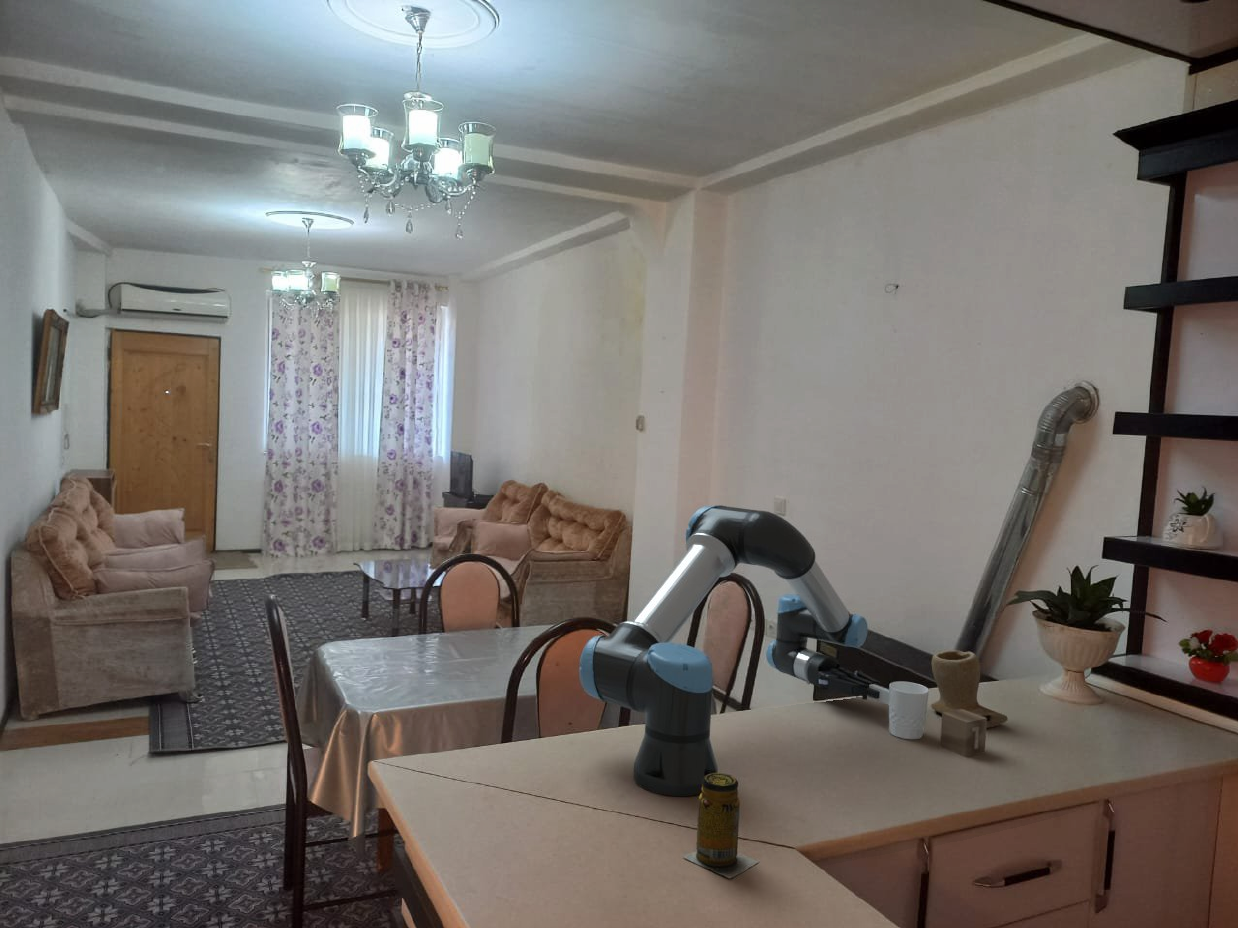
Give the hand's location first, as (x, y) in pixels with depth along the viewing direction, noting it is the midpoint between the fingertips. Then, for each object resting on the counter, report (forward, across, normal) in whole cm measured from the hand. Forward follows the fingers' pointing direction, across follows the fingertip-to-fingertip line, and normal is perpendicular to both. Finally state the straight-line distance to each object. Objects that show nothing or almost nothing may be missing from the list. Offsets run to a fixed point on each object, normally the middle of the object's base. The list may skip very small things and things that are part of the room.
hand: (893, 699), depth 190 cm
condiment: (+30, +68, -6) cm, 74 cm away
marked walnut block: (+15, -4, -6) cm, 17 cm away
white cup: (+4, 0, -6) cm, 8 cm away
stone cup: (+2, -19, -6) cm, 20 cm away
